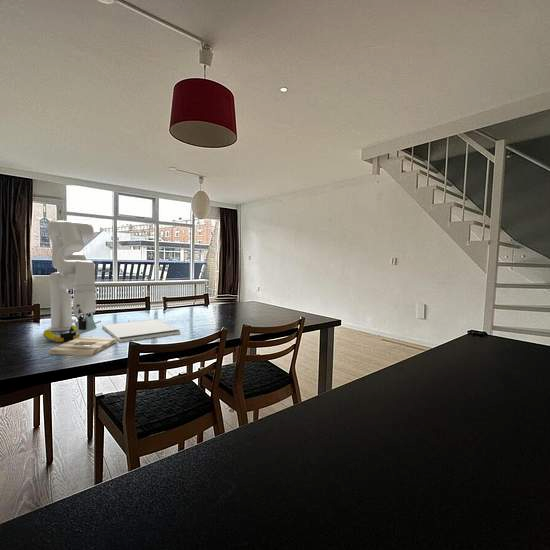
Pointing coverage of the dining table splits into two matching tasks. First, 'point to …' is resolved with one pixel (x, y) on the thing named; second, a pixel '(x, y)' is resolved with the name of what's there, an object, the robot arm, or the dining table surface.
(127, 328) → the white flat board
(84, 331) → the servo block
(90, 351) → the plate
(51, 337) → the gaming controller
